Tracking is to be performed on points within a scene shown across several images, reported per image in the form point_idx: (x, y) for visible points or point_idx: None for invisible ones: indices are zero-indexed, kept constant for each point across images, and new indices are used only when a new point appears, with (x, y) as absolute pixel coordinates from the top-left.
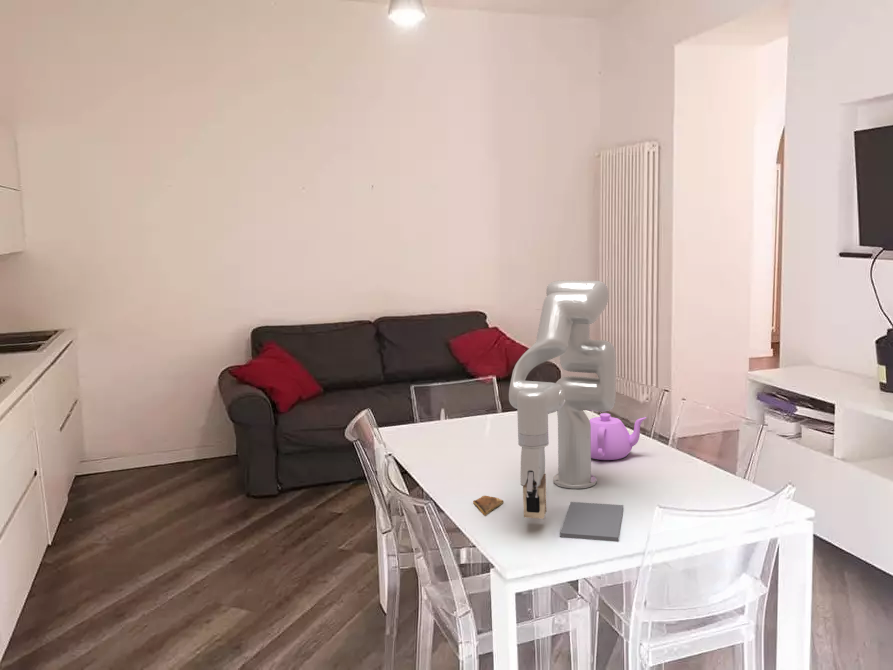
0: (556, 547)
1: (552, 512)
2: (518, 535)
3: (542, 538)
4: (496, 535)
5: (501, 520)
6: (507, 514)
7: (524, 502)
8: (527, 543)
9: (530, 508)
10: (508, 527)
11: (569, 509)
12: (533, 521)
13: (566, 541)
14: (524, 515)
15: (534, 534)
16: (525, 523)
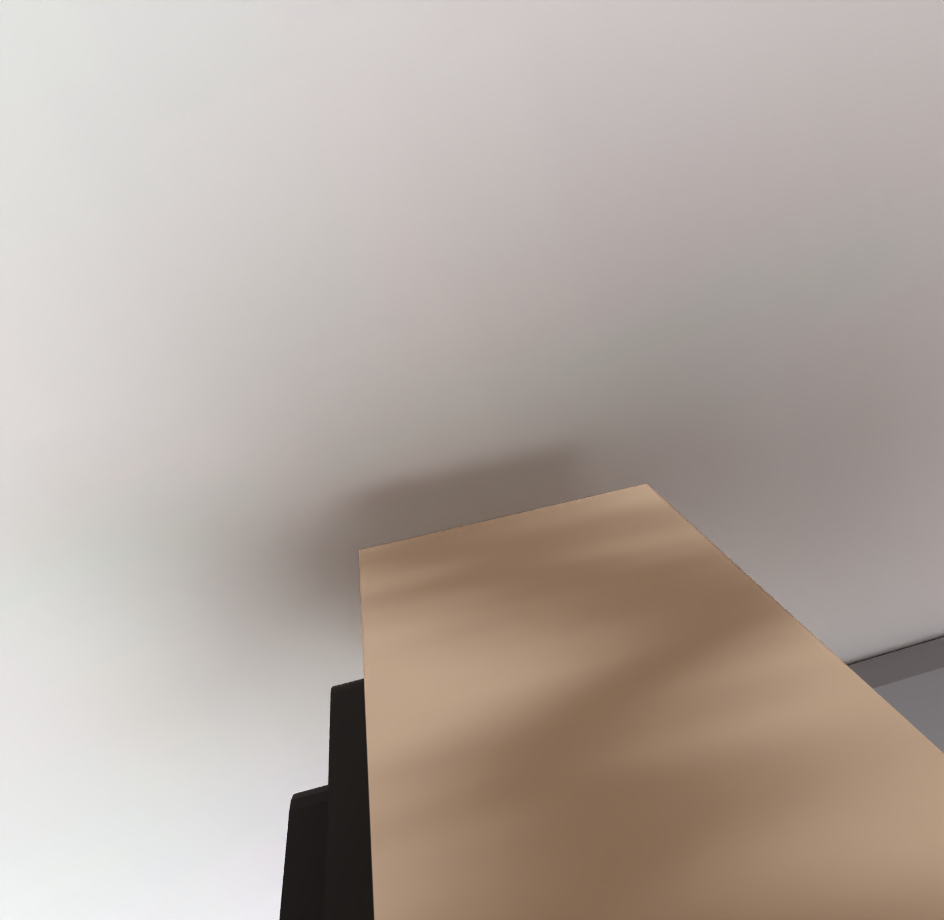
0: (97, 885)
1: (893, 533)
2: (184, 470)
3: (238, 710)
4: (17, 195)
5: (568, 62)
6: (784, 72)
7: (368, 751)
8: (17, 646)
9: (297, 818)
10: (371, 254)
11: (918, 684)
12: (639, 460)
13: (277, 886)
14: (363, 576)
15: (301, 607)
16: (562, 404)
